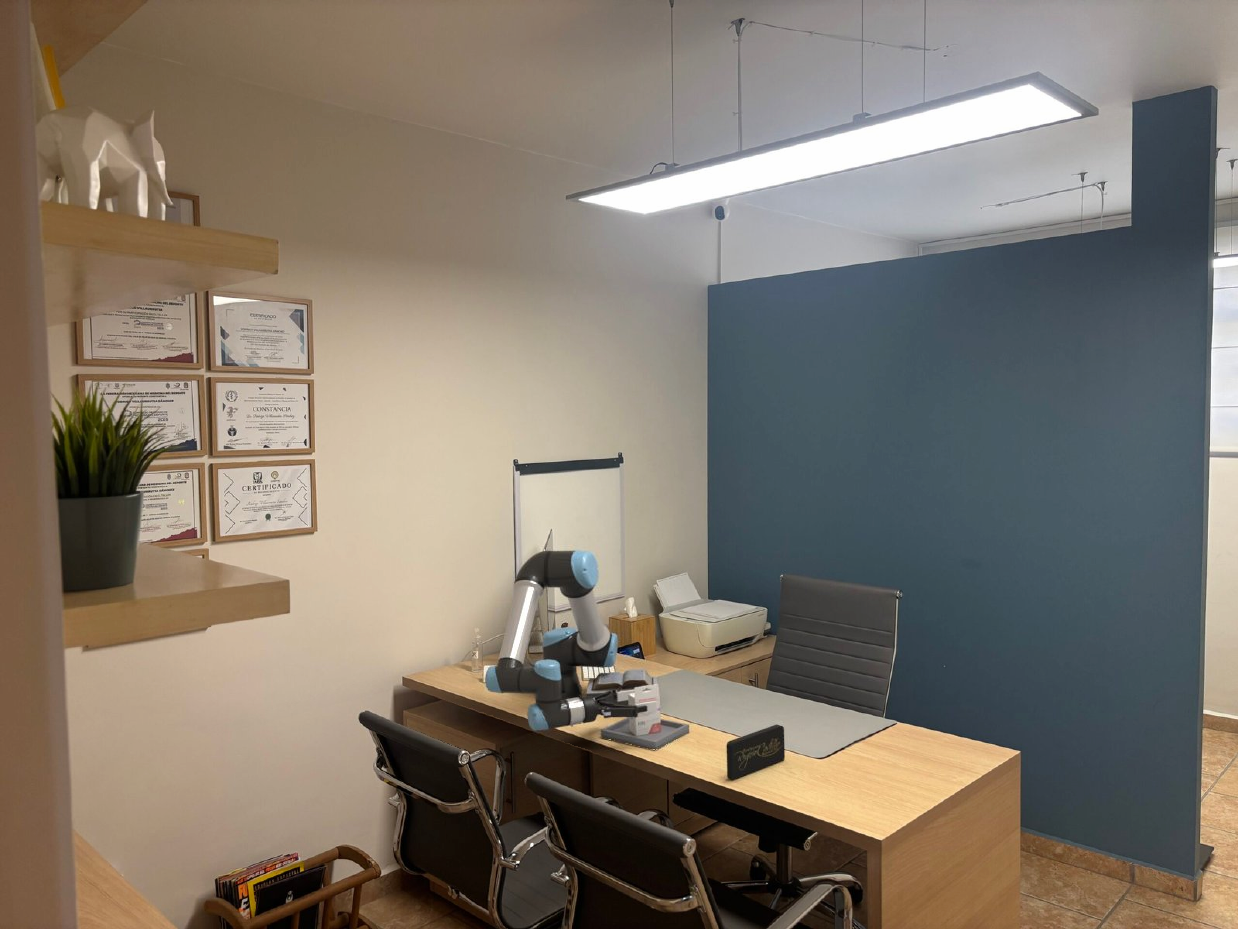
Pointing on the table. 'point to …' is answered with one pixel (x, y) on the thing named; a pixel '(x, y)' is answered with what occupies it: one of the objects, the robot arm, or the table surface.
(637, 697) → the ink cartridge box
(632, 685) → the bible
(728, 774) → the nameplate
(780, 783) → the table surface
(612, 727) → the desk tray
